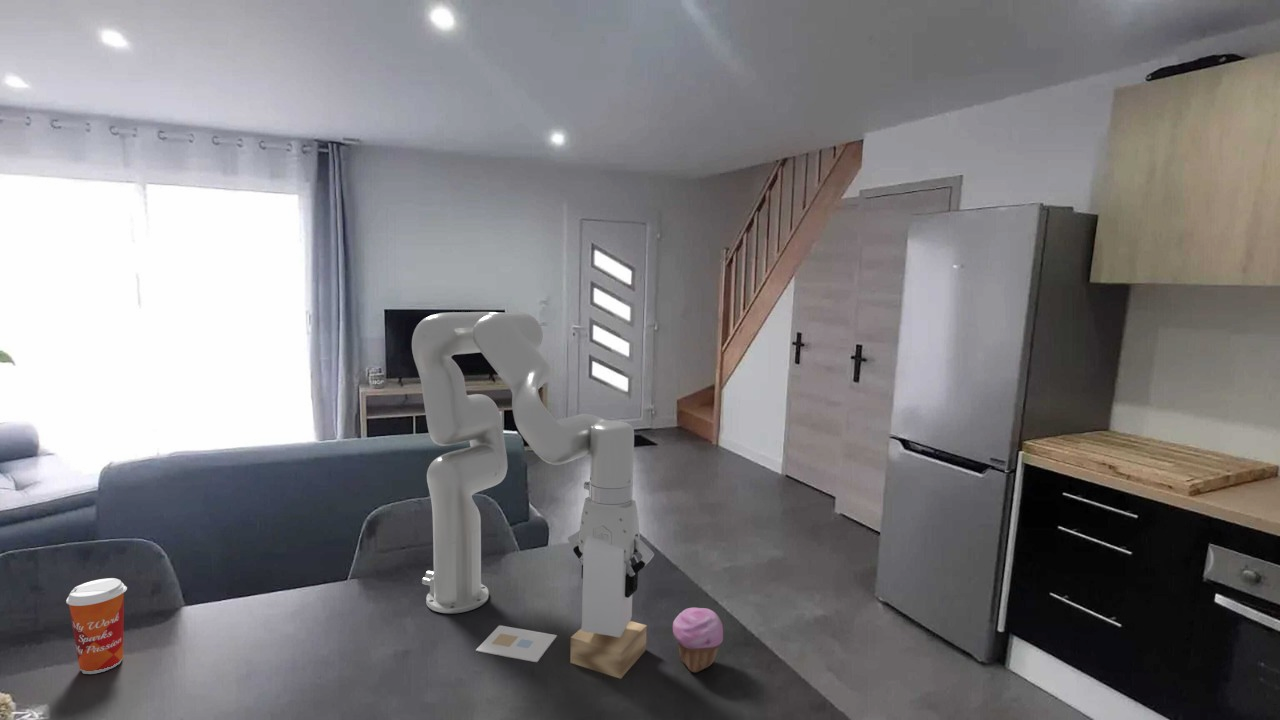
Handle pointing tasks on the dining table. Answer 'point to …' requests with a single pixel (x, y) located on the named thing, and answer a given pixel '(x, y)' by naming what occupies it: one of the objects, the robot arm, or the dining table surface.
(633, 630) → the oak brick
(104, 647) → the paper cup
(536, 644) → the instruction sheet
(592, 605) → the milk carton
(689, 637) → the cupcake
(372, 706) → the dining table surface
